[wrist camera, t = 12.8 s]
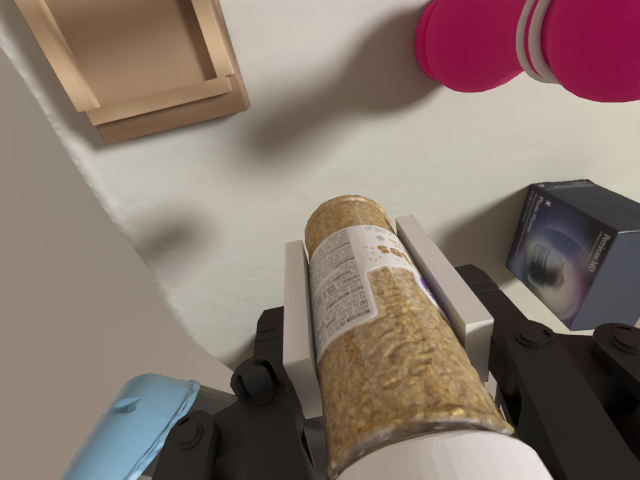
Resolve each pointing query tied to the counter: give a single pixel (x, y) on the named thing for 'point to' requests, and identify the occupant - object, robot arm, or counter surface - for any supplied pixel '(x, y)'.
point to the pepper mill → (533, 45)
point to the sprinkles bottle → (396, 363)
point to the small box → (580, 253)
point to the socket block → (140, 61)
